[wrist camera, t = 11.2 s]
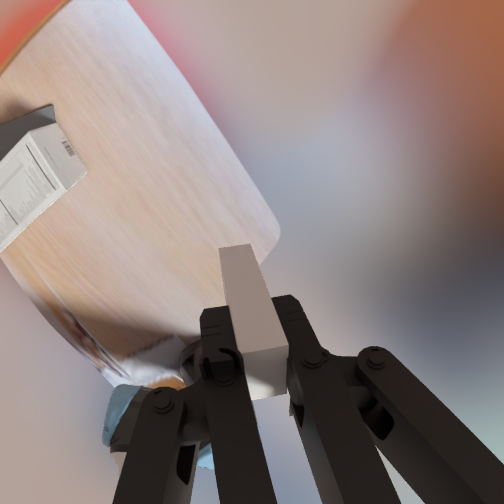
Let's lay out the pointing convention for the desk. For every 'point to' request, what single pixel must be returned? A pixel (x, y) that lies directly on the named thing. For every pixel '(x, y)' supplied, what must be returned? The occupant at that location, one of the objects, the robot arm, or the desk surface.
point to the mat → (23, 127)
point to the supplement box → (35, 178)
